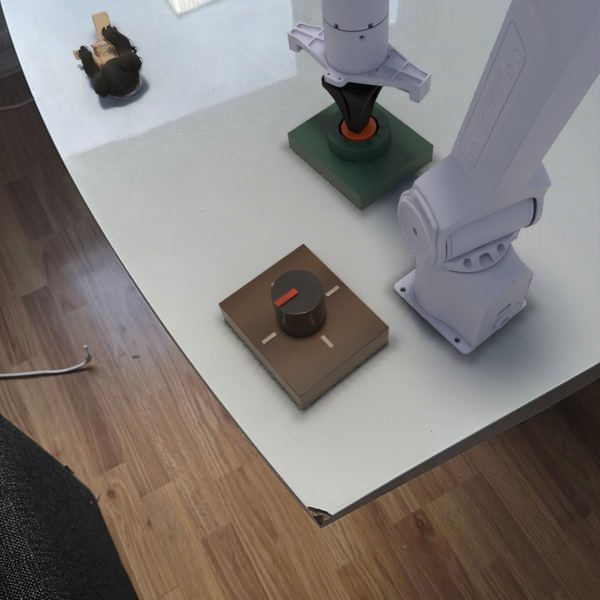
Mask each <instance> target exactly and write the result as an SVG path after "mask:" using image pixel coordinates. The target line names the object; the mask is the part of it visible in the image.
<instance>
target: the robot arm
mask: <svg viewBox="0 0 600 600" xmlns="http://www.w3.org/2000/svg"><path fill="white" fill-rule="evenodd" d="M320 2H321V16H322V25H314V24H309V23H305V22H302V21H298V22H296V24H295V25H294V26H293V27H292V28H291V29H289V30H288V32H286V33H287V40H288V42H287V43H288V49H289V51H292V52H294V53H300V52H301V51H302V50H303V51H305V52H306V53H307V54H308V55H309V56H310V57H311V58H312V59H313V60H315V61H316V63H318V64H319V65H320V67H322V68H323V69H324V70H325V72H324V73H323V74H322V76H321V80H320V81H321V87H322V88H323V89H325V90H326V91H327V93H328V94H329V95H330V96H331V98H332V99H333V100H334V102H336V104H337V105H338V107H339V109H340V111H341V114H342V116H343V118H344V121H345V123H346V126H347V128H348V130H350V131H352V132H354V133H356V134H360V133H361V132H362V130H363V129H364V128H365V127H366V126H367V125H368V124H369V121H370V117H371V113H372V110H373V107H374V104H375V102H377V99H378V97H379V95H380V93H381V91H382V89H383V88H384V87H387V88H394V89H396V90H399V91H401V92H404V93H406V94H409V95H408V96H409V97H408V98H409V100H410V101H411V102H413V103H416V104H420V103H421V102H422V100H424V99H425V97H426V96H427V94H428V93H429V92H430V91H431V81H432V73H430V72H429V71H427V70H424V69H422V68H421V67H419V66H418V65H416V64H415V63H414V62H412V61H411V60H410V59H409V58H407V56H405V55H404V54H403V53H402V52H400V50H398V49H397V48H396V47H394V46H393V45H392V44H391V43H389V33H390V32H389V29H390V28H389V26H390V0H320ZM599 75H600V0H511V1H510V4H509V6H508V9H507V11H506V13H505V16H504V19H503V21H502V23H501V26H500V29H499V31H498V33H497V37H496V39H495V41H494V44H493V46H492V49H491V51H490V54H489V56H488V59H487V61H486V64H485V66H484V68H483V71H482V74H481V77H480V79H479V81H478V84H477V86H476V89H475V91H474V94H473V95H472V98H471V101H470V103H469V106H468V109H467V111H466V114H465V116H464V118H463V121H462V124H461V125H460V128H459V130H458V133H457V136H456V139H455V141H454V142H453V143H454V144H453V146H452V149H451V151H450V153H449V154H448V155H446V156H445V157H444V158H442V159H441V160H440V161H438V162H437V163H436V164H435V165H433V166H432V167H431V168H429V169H428V170H427V171H425V172H424V173H423V174H421V175H420V176H419V177H417V178H416V179H415V180H414V182H413V184H412V187H411V188H410V189H407V190H404V191H403V192H402V193H401V195H400V197H399V202H398V204H397V219H398V223H399V227H400V230H401V233H402V236H403V238H404V241H405V242H406V245H407V246H408V248H409V249H410V251H411V253H412V254H413V255H414V256H415V258H416V260H415V261H416V263H415V267H414V269H412V270H411V271H410V272H408V273H406V275H404V276H403V277H402V278H401V279H399V280H398V281H396V282H395V283H394V285H393V290H394V291H395V292H396V294H397V295H399V296H400V297H401V298H402V299H403V300H404V301H405V302H406V303H407V304H408V305H409V306H411V308H412V309H414V310H415V311H416V312H417V313H418V314H419V315H420V316H421V317H422V318H423V319H424V320H425V321H427V323H428V324H429V325H431V327H432V328H434V329H435V330H436V331H437V332H438V333H439V334H440V335H441V336H442V337H443V338H444V339H446V341H448V343H449V344H451V345H452V346H453V347H454V348H455V349H456V350H457V351H459V353H460V354H462V355H469V354H470V353H472V352H473V351H475V349H476V348H477V347H479V346H480V345H481V344H483V343H484V342H485V341H486V340H487V339H488V338H490V337H491V336H492V335H493V334H494V333H496V332H497V331H498V330H500V329H501V328H502V327H504V325H506V324H507V323H508V322H509V321H510V320H511V319H512V318H514V317H515V316H516V315H517V314H519V313H520V312H522V310H523V309H525V308H526V306H527V300H526V297H527V294H528V291H529V289H530V286H531V284H532V281H533V278H534V271H533V270H532V269H531V268H530V267H529V266H528V265H527V264H526V262H524V261H523V259H521V257H520V255H519V254H518V253H517V251H516V250H515V248H514V246H513V243H512V242H514V241H516V240H517V239H518V237H519V234H520V231H521V229H527V228H529V227H532V226H533V227H534V226H535V225H537V223H538V222H540V220H541V218H542V215H543V212H544V204H545V196H546V193H547V192H548V190H549V189H550V188H551V186H552V181H551V178H550V176H549V173H548V171H547V168H546V166H545V165H544V163H543V160H544V158H545V157H546V156H547V154H548V152H549V151H550V149H551V147H552V146H553V145H554V144H555V142H556V141H557V139H558V137H559V136H560V134H561V133H562V131H563V130H564V128H565V126H567V123H568V122H569V121H570V119H571V117H573V115H574V113H575V112H576V110H577V108H578V107H579V105H580V104H581V102H583V99H584V98H585V97H586V95H587V93H588V92H589V91H590V89H591V88H592V86H593V85H594V83H595V81H596V80H597V78H598V77H599ZM402 290H404V291H402ZM455 340H457V341H459V342H457V341H455Z"/></svg>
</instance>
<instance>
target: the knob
mask: <svg viewBox="0 0 600 600" xmlns="http://www.w3.org/2000/svg"><path fill="white" fill-rule="evenodd" d="M271 298H272V302H273V306H274V310H275V314H276V317H277V321H278V324H279V326H280V327H281V328H282V329H283V330H284V331H285V332H286V333H288V334H290V335H293V336H301V337H302V336H308V335H311V334H313V333H315V332H316V331H318V330H319V329H320V328H321V327H322V325H323V323H324V322H325V319H326V307H325V300H324V292H323V286H322V283H321V281H320V280H319V278H318V277H317V276H316V275H314V274H313V273H311V272H309V271H305V270H292V271H288V272H286V273H284V274H282V275H281V276H280V277H278V278H277V279H276V281H275V282H274V284H273V286H272V289H271Z"/></svg>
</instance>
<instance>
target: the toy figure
mask: <svg viewBox="0 0 600 600" xmlns="http://www.w3.org/2000/svg"><path fill="white" fill-rule="evenodd" d="M91 19H92V22H93V25H94V26H93V27H94V30H95V32H96V37H97V41H98V42H95V43H92V44H91V45H90V47H91V49H92V50H91V49H90V47H88V46H87V45H85V44H83V45H80V47H79V49H77V50H75V49H73V50H72V53H73V56H74V57H75V60H77V61H81V66H82V69H83V70H84V73H85V75H86V76H87V77H89V78H90V79H91V80H92V81H91V84H92V86H93V90H94V93H95V94H96V95H98V98H100V99H104V98H108V97H110V96H112V97H115V98H118V99H122V100H125V99H128V98H130V97H131V96H132V95H134V94H135V93H136V92H138V90H140V88H141V86H142V82H143V81H142V76H141V74H140V70H141V69H142V65H143V58H142V57H141V56H139V55H138V54H137V52H138V50H139V49H138V47H136V46H135V45H134V44H133V42H131V39H130V38H129V37H128V36H126V35H125V34H124V33H122V32H120V31H119V30H118V28H117V27H116V26H115V25H112V24H111V20H110V18H109V14H108V12H107V11H106V10H105V11H100V12H98V13H93V14H92V15H91ZM92 51H93V52H92Z"/></svg>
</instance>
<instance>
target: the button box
mask: <svg viewBox="0 0 600 600" xmlns="http://www.w3.org/2000/svg"><path fill="white" fill-rule="evenodd" d="M371 118H373V119H374V121H375V123H376V135H375V136H373V137H372V138H371V139H369V140H367V141H361V142H354V141H349V140H346V139H345V138H344V137H343V136H342V133H341V125H342V123H343V121H344V118H343V116H342V114H341V111H340V109H339V107H338V105H337V104H336V102H335V101H334V102H333V103H331V104H330V105H328V106H327V107H325V108H323V109H322V110H320V111H319V112H318V113H316V114H314V115H313V116H311V117H310V118H308V119H307V120H305V121H304V122H302V123H301V124H299V125H298V126H296V127H295V128H293V129H291V130H290V131H288V132H287V140H288V147H289V149H291V150H292V151H293V152H294V153H295V154H296V155H298V157H299V158H301V159H302V160H303V161H304V162H306V164H308V165H309V166H310V167H311V168H312V169H314V170H315V171H316V172H317V174H319V175H320V176H321V177H323V179H325V180H326V181H327V182H328V183H329V184H330V185H331V186H332V187H334V188H335V189H336V190H337V191H338V192H339V193H340V194H342V195H343V196H344V197H345V198H346V199H347V200H349V202H350V203H352V205H354V206H355V207H356V208H357V209H359V210H360V211H363V210H364V209H365V208H367V207H368V206H369V205H371V204H372V203H374V202H375V201H377V200H378V199H379V198H381V197H383V196H384V195H385V194H387V193H388V192H389V191H390V190H392V189H393V188H395V187H396V186H397V185H399V184H400V183H402V182H403V181H405V180H406V179H408V178H409V177H410V176H411V175H413V174H414V173H416V172H417V171H418V170H420V169H422V168H423V167H424V166H426V165H427V164H429V163H430V162H431V161H432V160H433V155H434V144H432V143H431V142H430V141H429V140H428V139H426V138H425V137H423V136H422V135H421V134H419V132H417V131H415V130H414V129H413V128H411V127H410V126H409V125H408V124H406V123H405V122H404V121H402V120H401V119H400V118H398V117H397V116H396V115H395V114H393V113H392V112H391V111H389V110H388V109H387V108H385V107H384V106H383V105H381V104H380V103H379V102H377V101H376V102H375V104H374V107H373V110H372V113H371Z"/></svg>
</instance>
